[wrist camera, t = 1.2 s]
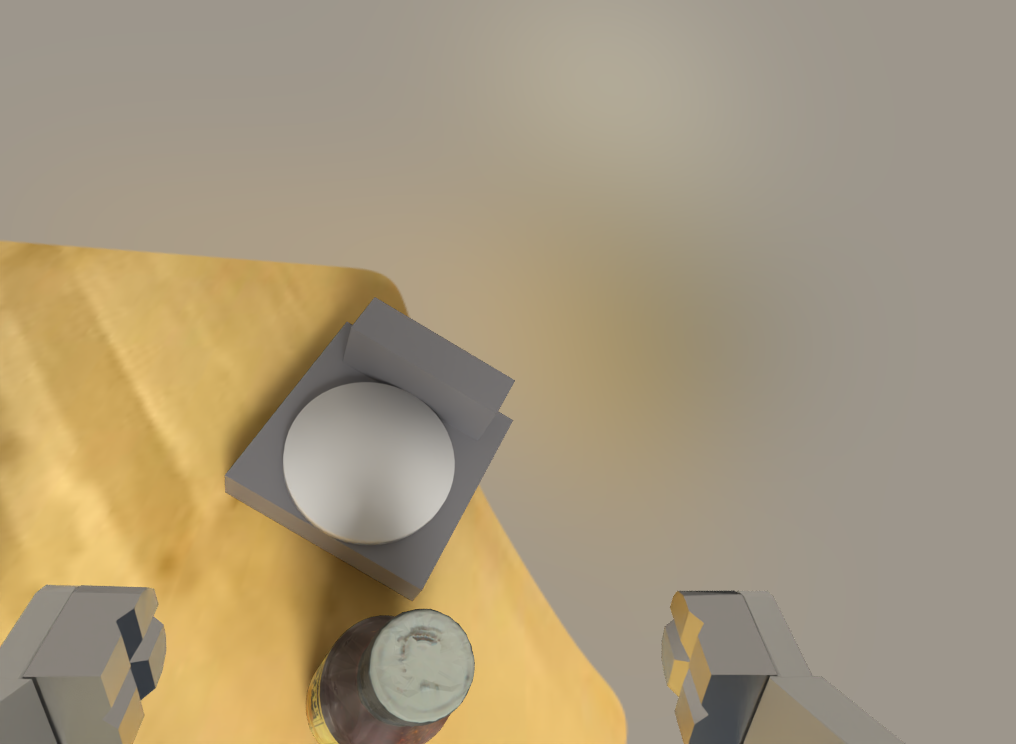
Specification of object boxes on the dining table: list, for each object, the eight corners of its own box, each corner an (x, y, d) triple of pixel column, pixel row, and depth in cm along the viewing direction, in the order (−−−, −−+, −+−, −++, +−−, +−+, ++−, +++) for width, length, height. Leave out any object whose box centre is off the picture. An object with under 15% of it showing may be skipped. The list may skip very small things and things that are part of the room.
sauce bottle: (348, 627, 45) (413, 531, 29) (428, 688, 45) (539, 625, 29) (276, 724, 41) (304, 677, 25) (363, 791, 41) (449, 787, 25)
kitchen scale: (225, 492, 47) (224, 445, 41) (344, 339, 55) (358, 282, 49) (412, 601, 47) (439, 571, 41) (502, 433, 55) (536, 388, 49)
